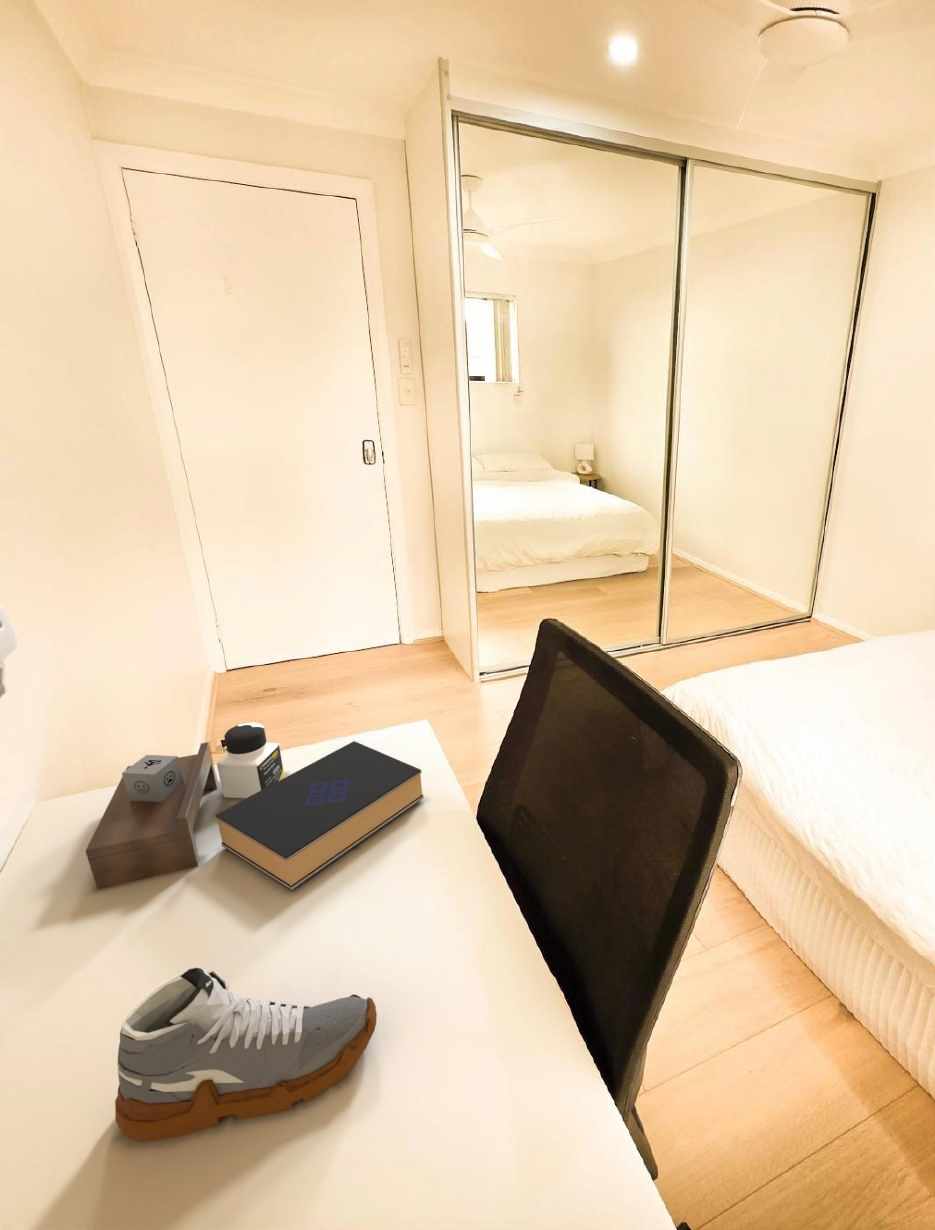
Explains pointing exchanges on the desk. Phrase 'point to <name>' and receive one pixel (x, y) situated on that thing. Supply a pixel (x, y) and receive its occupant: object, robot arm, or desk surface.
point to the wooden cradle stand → (151, 828)
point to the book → (319, 812)
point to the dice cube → (153, 778)
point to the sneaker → (228, 1055)
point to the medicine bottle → (249, 761)
